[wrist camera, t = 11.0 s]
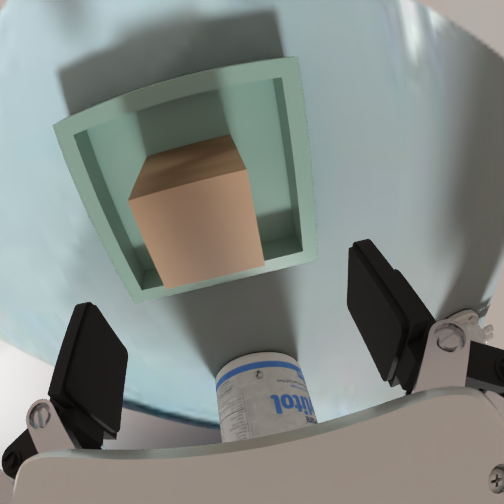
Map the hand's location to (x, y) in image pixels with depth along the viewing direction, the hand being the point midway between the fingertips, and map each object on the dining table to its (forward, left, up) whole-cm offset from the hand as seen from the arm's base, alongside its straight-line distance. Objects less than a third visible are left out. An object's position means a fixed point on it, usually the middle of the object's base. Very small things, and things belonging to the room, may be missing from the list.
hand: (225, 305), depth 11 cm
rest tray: (+1, -1, -10) cm, 10 cm away
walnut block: (+1, -1, -10) cm, 10 cm away
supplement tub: (+1, +22, -11) cm, 25 cm away
